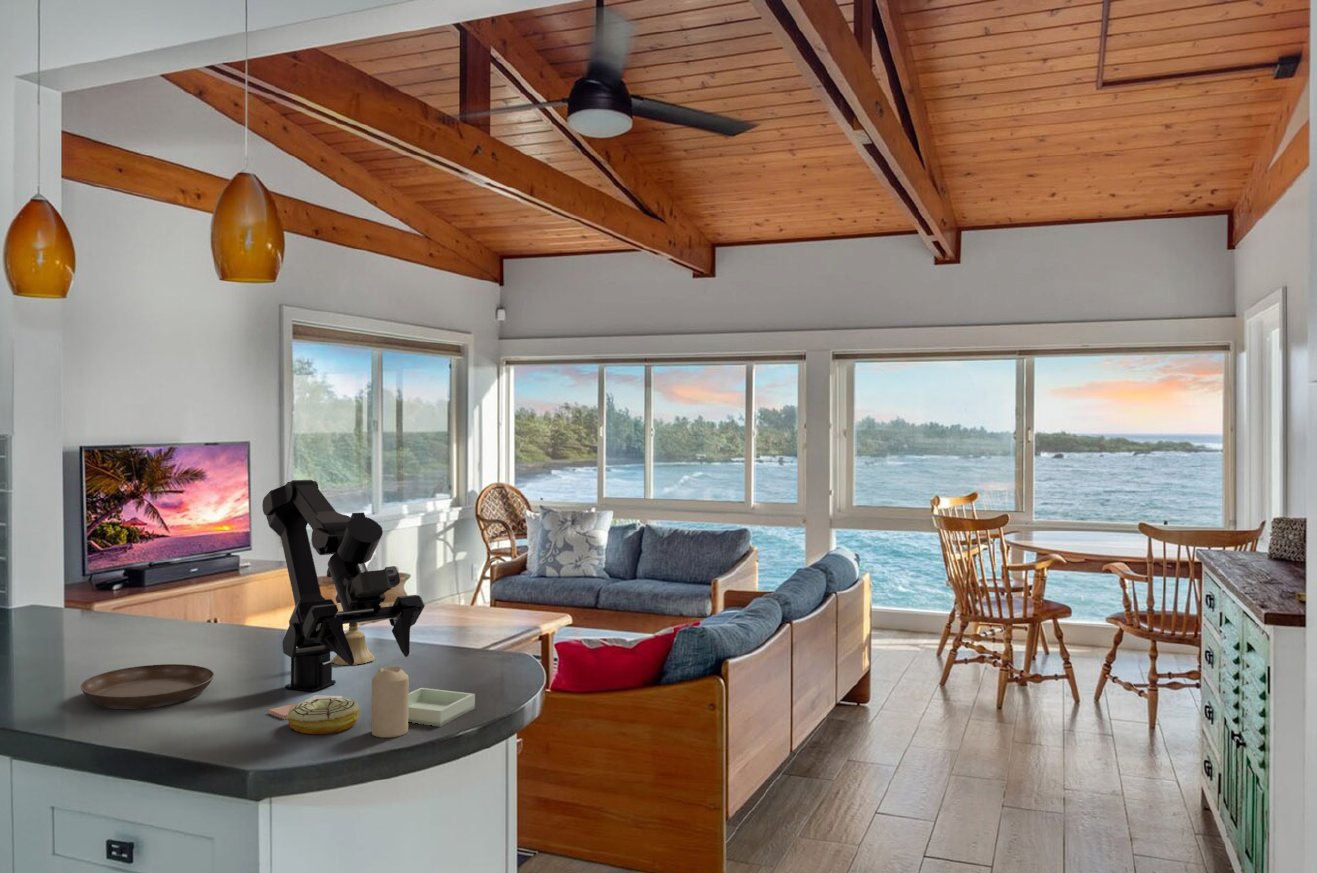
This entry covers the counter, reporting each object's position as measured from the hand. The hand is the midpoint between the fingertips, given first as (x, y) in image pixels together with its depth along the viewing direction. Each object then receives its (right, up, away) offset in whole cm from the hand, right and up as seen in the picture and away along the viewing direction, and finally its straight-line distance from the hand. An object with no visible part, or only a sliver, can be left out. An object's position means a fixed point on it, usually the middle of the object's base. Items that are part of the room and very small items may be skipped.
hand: (380, 659), depth 151 cm
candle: (+2, -11, -3) cm, 11 cm away
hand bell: (-18, -10, +42) cm, 47 cm away
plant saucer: (-45, -10, +16) cm, 49 cm away
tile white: (-14, -11, +12) cm, 21 cm away
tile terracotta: (-17, -11, +6) cm, 21 cm away
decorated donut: (-9, -11, 0) cm, 14 cm away
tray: (+6, -11, +7) cm, 14 cm away
